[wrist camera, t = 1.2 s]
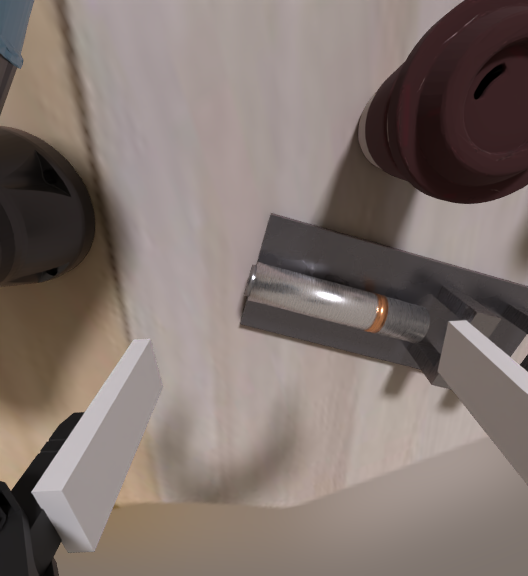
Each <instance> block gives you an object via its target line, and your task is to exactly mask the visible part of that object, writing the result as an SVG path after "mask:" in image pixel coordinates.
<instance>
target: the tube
mask: <svg viewBox="0 0 528 576" xmlns="http://www.w3.org/2000/svg"><path fill="white" fill-rule="evenodd" d="M244 295H245V296H249V298H248V300H249V301H253V302H257V303H261V304H264V305H268V306H272V307H276V308H280V309H284V310H288V311H292V312H295V313H299V314H303V315H307V316H311V317H315V318H319V319H322V320H326V321H330V322H334V323H338V324H342V325H346V326H350V327H353V328H357V329H361V330H363V331H367V332H371V333H377V334H380V335H384V336H388V337H392V338H396V339H400V340H404V341H408V342H411V343H418V342H420V341H421V340H422V339H423V338H424V337H425V335H426V334H427V331H428V329H429V324H430V316H429V312H428V310H427V309H426V308H425V307H423V306H419V305H415V304H412V303H408V302H404V301H401V300H397V299H393V298H389V297H386V296H384V295H380V294H377V293H371V292H367V291H364V290H360V289H356V288H352V287H349V286H345V285H341V284H338V283H334V282H330V281H327V280H323V279H319V278H315V277H312V276H308V275H304V274H301V273H297V272H293V271H290V270H286V269H282V268H278V267H275V266H271V265H267V264H264V263H260V262H258V264H257V266H256V265H252V267H251V271H250V274H249V278H248V282H247V286H246V290H245V294H244Z"/></svg>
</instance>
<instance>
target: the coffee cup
mask: <svg viewBox="0 0 528 576" xmlns="http://www.w3.org/2000/svg"><path fill="white" fill-rule="evenodd" d="M358 136H359V143H360V147H361V149H362V152H363V154H364V155H365V157H366V158H367V159H368V160H369V161H370V162H371V163H372V164H373V165H375V166H376V167H378V168H381V169H382V170H383V171H385V172H387V173H388V174H390V175H392V176H395V177H398V178H400V179H403V180H406V181H408V182H409V183H411V184H412V185H413V186H414V187H415V188H416V189H418V190H419V191H421V192H423V193H424V194H426V195H429V196H431V197H434V198H437V199H440V200H444V201H448V202H453V203H460V204H474V203H483V202H488V201H492V200H496V199H499V198H501V197H504V196H507V195H509V194H511V193H513V192H515V191H517V190H519V189H521V188H523V187H525V186H526V185H528V0H464V1H463V2H462V3H460V4H459V5H457V6H456V7H455V8H454V9H452V10H451V11H450V12H449V13H447V14H446V15H445V16H444V17H442V18H441V19H440V20H439V21H438V22H437V23H436V24H434V25H433V26H432V27H431V28H430V29H429V30H428V31H427V32H426V34H425V35H424V36H423V37H422V38H421V39H420V41H419V42H418V43H417V44H416V46H415V47H414V49H413V50H412V52H411V53H410V54H409V56H408V58H407V60H406V61H405V62H404V63H403V64H402V65H401V66H400V67H399V68H398V69H397V70H396V71H395V72H394V73H393V74H392V75H391V76H390V77H389V78H387V80H386V81H385V82H384V83H383V84H382V85H381V87H380V88H379V89H378V91H377V92H376V93H375V94H374V95H373V96H372V98H371V99H370V100H369V102H368V103H367V105H366V106H365V108H364V110H363V112H362V115H361V118H360V122H359V130H358Z"/></svg>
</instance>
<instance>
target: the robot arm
mask: <svg viewBox="0 0 528 576" xmlns="http://www.w3.org/2000/svg"><path fill="white" fill-rule="evenodd" d="M33 3H34V0H0V114H1V112H2V109H3V106H4V103H5V100H6V97H7V95H8V92H9V89H10V86H11V83H12V80H13V78H14V75H15V72H16V69H17V68H20V69H21V67H22V65H23V58H22V56H21V51H22V47H23V42H24V38H25V34H26V30H27V25H28V21H29V17H30V14H31V10H32V6H33ZM94 231H95V217H94V211H93V206H92V203H91V199H90V197H89V194H88V192H87V189H86V187H85V185H84V183H83V182H82V180H81V178H80V177H79V175H78V174H77V172H76V171H75V170H74V168H73V167H72V166H71V165H70V163H69V162H68V161H67V160H66V159H65V158H64V157H63V156H62V155H61V154H60V153H59V152H58V151H56V150H55V149H54V148H53V147H51V146H50V145H49V144H47V143H46V142H44V141H43V140H41V139H39V138H38V137H36V136H34V135H32V134H29V133H27V132H24V131H22V130H19V129H15V128H11V127H5V126H0V287H3V286H13V285H22V284H32V283H40V282H45V281H48V280H51V279H54V278H56V277H58V276H60V275H62V274H64V273H66V272H67V271H69V270H71V269H73V268H74V267H75V266H77V265H78V264H79V263H80V262H81V261H82V260H83V259H84V258H85V256H86V255H87V253H88V251H89V249H90V247H91V245H92V242H93V238H94ZM438 373H439V374H440V375H441V376H442V378H443V379H444V380H445V382H446V383H447V384H448V385H449V387H450V388H451V389H452V390H453V392H454V393H455V394H456V395H457V397H458V398H459V399H460V401H461V402H462V403H463V404H464V406H465V407H466V408H467V409H468V411H469V412H470V413H471V414H472V416H473V417H474V418H475V420H476V421H477V422H478V423H479V425H480V426H481V427H482V428H483V430H484V431H485V432H486V433H487V435H488V436H489V437H490V438H491V440H492V441H493V442H494V444H495V445H496V446H497V447H498V449H499V450H500V451H501V452H502V454H503V455H504V456H505V457H506V459H507V460H508V461H509V463H510V464H511V465H512V466H513V468H514V469H515V470H516V471H517V473H518V474H519V475H520V476H521V478H522V479H523V480H524V481H525V483H526V484H527V485H528V372H527V371H526V370H525V369H524V368H523V367H521V366H520V365H519V364H518V363H517V362H515V361H514V360H513V359H512V358H511V357H509V356H508V355H507V354H506V353H505V352H503V351H502V350H501V349H500V348H499V347H497V346H496V345H495V344H494V343H493V342H492V341H490V340H489V339H488V338H487V337H486V336H484V335H483V334H482V333H481V332H480V331H478V330H477V329H476V328H475V327H474V326H472V325H471V324H470V323H469V322H468V321H466V320H461V321H448V325H447V330H446V335H445V339H444V344H443V348H442V353H441V358H440V362H439V367H438ZM162 388H163V384H162V380H161V376H160V372H159V368H158V365H157V361H156V357H155V353H154V349H153V345H152V342H151V339H134V340H133V341H132V343H131V344H130V346H129V347H128V349H127V350H126V352H125V353H124V355H123V356H122V358H121V359H120V361H119V362H118V364H117V365H116V367H115V368H114V370H113V371H112V373H111V374H110V376H109V377H108V379H107V380H106V381H105V383H104V384H103V386H102V387H101V389H100V390H99V392H98V393H97V395H96V396H95V398H94V399H93V401H92V402H91V404H90V405H89V407H88V408H87V410H86V411H85V412H80V413H73V414H72V415H71V416H69V417H68V418H67V419H66V420H65V421H63V422H62V423H61V424H60V425H59V426H58V427H57V429H56V430H55V432H54V433H53V434H52V436H51V437H50V438H49V442H46V444H45V445H44V447H43V448H42V449H41V452H40V454H38V455H37V456H36V457H35V459H34V460H33V462H32V463H31V464H30V466H29V467H28V468H27V470H26V471H25V473H24V474H23V475H22V477H21V478H20V479H19V481H18V482H17V483H16V485H15V486H14V488H13V489H12V490H11V491H10V489H9V488H8V486H7V484H6V483H5V482H2V481H0V576H59V574H58V568H57V563H56V561H55V559H54V555H55V552H56V551H57V549H58V547H59V545H60V543H61V542H62V544H63V545H64V547H65V549H66V550H67V552H68V553H72V552H73V553H75V552H95V549H96V547H97V544H98V542H99V540H100V537H101V535H102V532H103V530H104V528H105V525H106V523H107V521H108V518H109V516H110V513H111V511H112V508H113V506H114V504H115V501H116V499H117V496H118V494H119V492H120V489H121V487H122V484H123V482H124V480H125V477H126V475H127V472H128V470H129V467H130V465H131V463H132V460H133V458H134V455H135V453H136V451H137V448H138V446H139V443H140V441H141V439H142V436H143V434H144V431H145V429H146V427H147V424H148V422H149V419H150V417H151V414H152V412H153V410H154V407H155V405H156V402H157V400H158V398H159V395H160V393H161V390H162Z"/></svg>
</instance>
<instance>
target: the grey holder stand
mask: <svg viewBox="0 0 528 576" xmlns="http://www.w3.org/2000/svg"><path fill="white" fill-rule="evenodd" d="M258 262H260V263H264V264H267V265H271V266H275V267H278V268H282V269H286V270H290V271H293V272H297V273H301V274H304V275H308V276H312V277H315V278H319V279H323V280H327V281H330V282H334V283H338V284H341V285H345V286H349V287H352V288H356V289H360V290H364V291H367V292H371V293H377V294H380V295H384V296H386V297H389V298H393V299H397V300H401V301H404V302H408V303H412V304H415V305H419V306H423V307H425V308H426V309H427V310H428V312H429V316H430V324H429V329H428V331H427V334H426V335H425V337H424V338H423V339H422V340H421V341H420V342H418V343H411V342H408V341H404V340H400V339H396V338H392V337H388V336H384V335H380V334H377V333H371V332H367V331H363V330H361V329H357V328H353V327H350V326H346V325H342V324H338V323H334V322H330V321H326V320H322V319H319V318H315V317H311V316H307V315H303V314H299V313H295V312H292V311H288V310H284V309H280V308H276V307H272V306H268V305H264V304H261V303H257V302H253V301H249V300H248V298H249V296H248V297H247V300H246V304H245V307H244V311H243V314H242V318H241V322H240V324H242V325H246V326H250V327H254V328H258V329H262V330H266V331H270V332H274V333H278V334H282V335H286V336H290V337H294V338H298V339H302V340H306V341H310V342H314V343H318V344H322V345H326V346H330V347H334V348H338V349H342V350H346V351H349V352H353V353H357V354H361V355H365V356H369V357H373V358H377V359H381V360H385V361H389V362H393V363H397V364H401V365H405V366H409V367H413V368H417V369H421V370H422V372H423V373H424V374H425V376H426V377H427V379H428V380H429V382H430V383H431V384H432V385H435V386H439V387H443V388H447V389H451V388H450V387H449V385H448V384H447V383H446V382H445V380H444V379H443V378H442V376H441V375H440V374H439V373H438V367H439V362H440V358H441V353H442V348H443V344H444V339H445V335H446V330H447V325H448V321H461V320H466V321H468V322H469V323H470V324H471V325H472V326H474V327H475V328H476V329H477V330H478V331H480V332H481V333H482V334H483V335H484V336H486V337H487V338H488V339H489V340H490V341H492V342H493V343H494V344H495V345H496V346H497V347H499V348H500V349H501V350H502V351H503V352H505V353H506V354H507V355H508V356H509V357H511V355H512V354H513V353H514V351H515V350H516V348H517V347H518V346H519V344H520V343H521V342H522V340H523V339H524V337H525V336H526V335H527V334H528V286H525V285H522V284H518V283H515V282H511V281H508V280H504V279H501V278H497V277H494V276H490V275H487V274H483V273H480V272H476V271H473V270H469V269H466V268H462V267H458V266H455V265H451V264H448V263H444V262H441V261H437V260H434V259H430V258H427V257H423V256H420V255H416V254H413V253H409V252H406V251H402V250H399V249H395V248H392V247H388V246H385V245H381V244H378V243H374V242H371V241H367V240H364V239H360V238H357V237H353V236H350V235H346V234H343V233H339V232H336V231H332V230H329V229H325V228H322V227H318V226H315V225H311V224H308V223H304V222H301V221H297V220H294V219H290V218H287V217H283V216H280V215H276V214H273V213H271V215H270V218H269V222H268V225H267V229H266V233H265V236H264V240H263V243H262V247H261V250H260V254H259V257H258V261H257V264H258ZM256 266H257V265H256ZM520 366H521V367H523V368H524V369H525V370H526V371H527V372H528V355H527V356H526V357H525V359H524V360H523V361H522V363H521V364H520ZM451 390H452V389H451Z"/></svg>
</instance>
